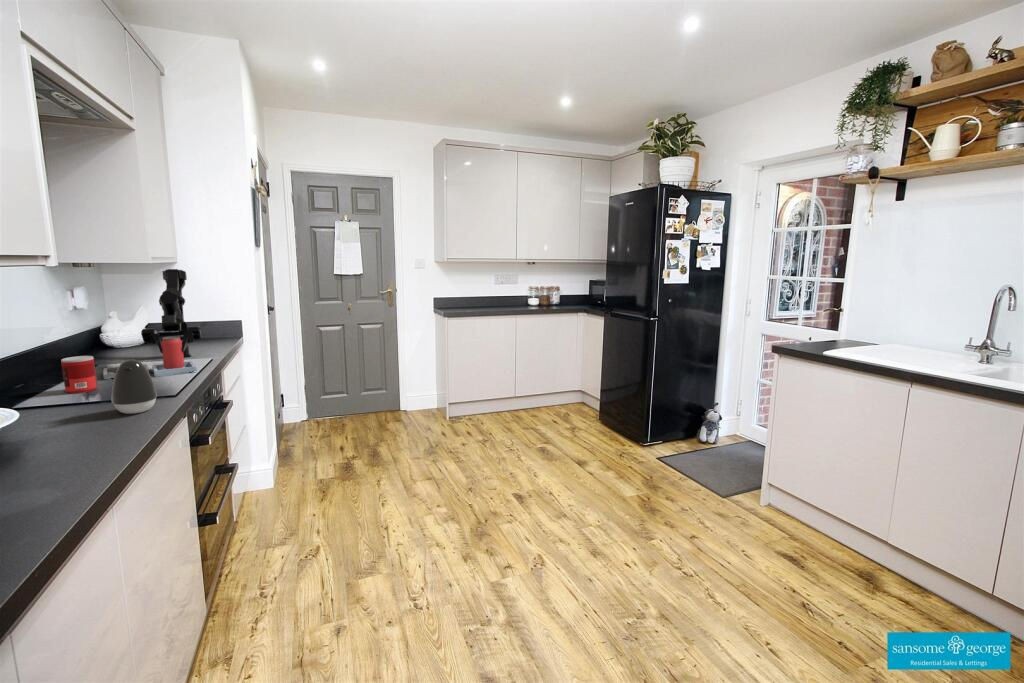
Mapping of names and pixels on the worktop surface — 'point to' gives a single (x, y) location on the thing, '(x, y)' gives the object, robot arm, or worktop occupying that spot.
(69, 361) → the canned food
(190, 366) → the tray
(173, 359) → the beer can
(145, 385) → the grey egg-shaped dome
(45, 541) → the worktop surface
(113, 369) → the bay frame
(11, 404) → the worktop surface
